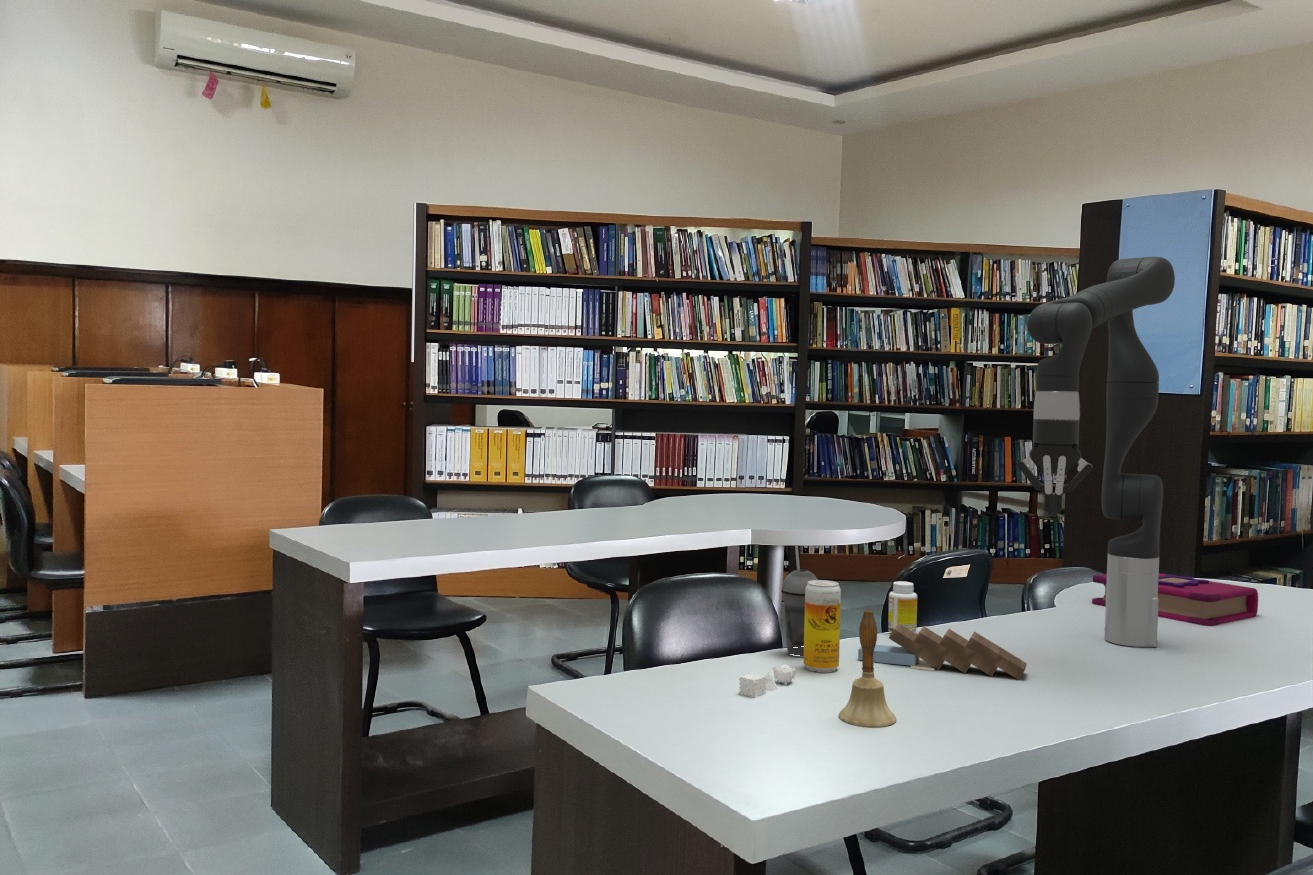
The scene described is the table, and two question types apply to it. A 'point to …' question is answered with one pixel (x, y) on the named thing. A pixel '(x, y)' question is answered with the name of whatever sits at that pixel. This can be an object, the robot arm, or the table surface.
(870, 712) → the hand bell
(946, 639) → the domino
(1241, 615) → the book
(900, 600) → the supplement bottle
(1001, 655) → the domino
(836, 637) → the beer can
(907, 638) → the domino
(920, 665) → the plate
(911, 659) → the domino
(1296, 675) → the table surface
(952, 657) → the domino
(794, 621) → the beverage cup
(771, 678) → the game pieces
